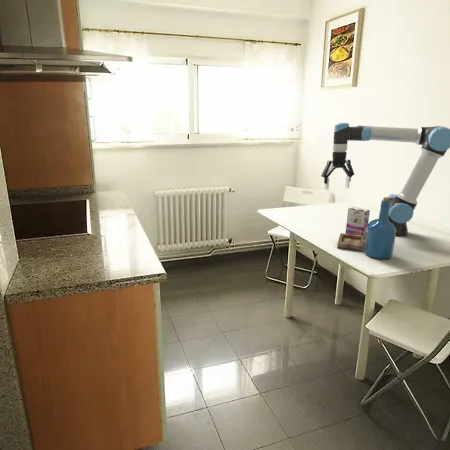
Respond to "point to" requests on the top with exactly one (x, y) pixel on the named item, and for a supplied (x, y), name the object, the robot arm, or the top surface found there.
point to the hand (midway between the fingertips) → (336, 188)
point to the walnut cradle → (350, 242)
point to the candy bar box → (357, 221)
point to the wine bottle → (381, 234)
